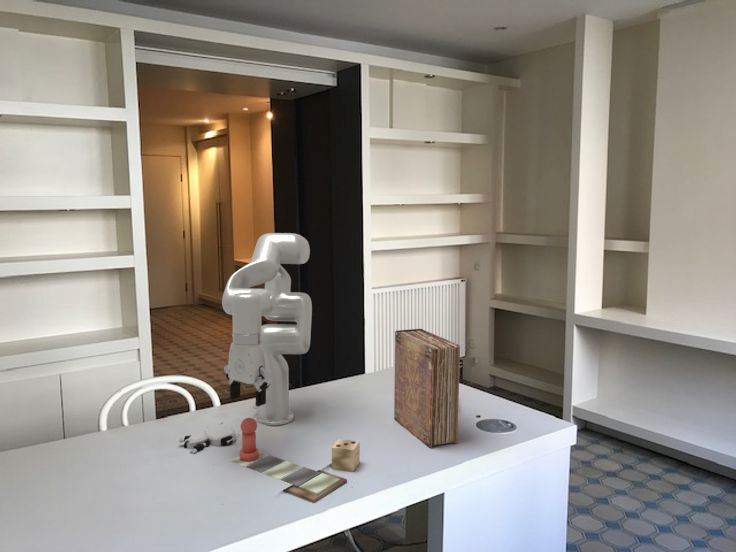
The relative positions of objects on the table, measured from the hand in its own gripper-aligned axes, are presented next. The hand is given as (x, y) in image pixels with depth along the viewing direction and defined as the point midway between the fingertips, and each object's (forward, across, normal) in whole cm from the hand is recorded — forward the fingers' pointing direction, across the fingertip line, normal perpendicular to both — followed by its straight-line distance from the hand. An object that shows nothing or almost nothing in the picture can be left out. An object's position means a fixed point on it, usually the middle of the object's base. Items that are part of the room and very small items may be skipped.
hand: (247, 401), depth 159 cm
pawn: (+16, 0, +1) cm, 16 cm away
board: (+18, +12, +1) cm, 21 cm away
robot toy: (+18, -18, +2) cm, 25 cm away
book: (+17, +27, +49) cm, 58 cm away
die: (+17, +22, +15) cm, 32 cm away
